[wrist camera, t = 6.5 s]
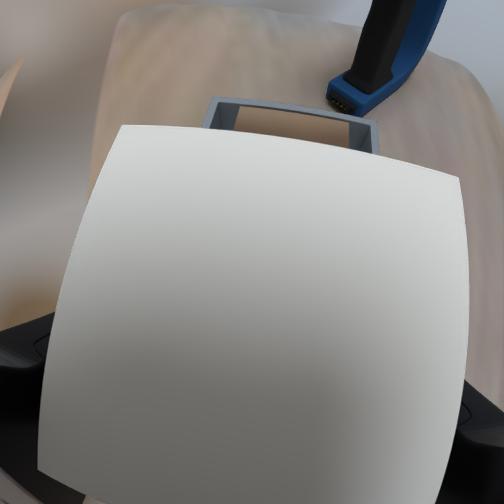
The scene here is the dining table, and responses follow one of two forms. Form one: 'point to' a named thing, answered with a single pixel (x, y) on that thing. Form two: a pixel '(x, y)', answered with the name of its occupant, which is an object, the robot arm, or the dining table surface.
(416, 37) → the handheld scanner
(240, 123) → the walnut block
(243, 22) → the dining table surface
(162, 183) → the carton
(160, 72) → the dining table surface
